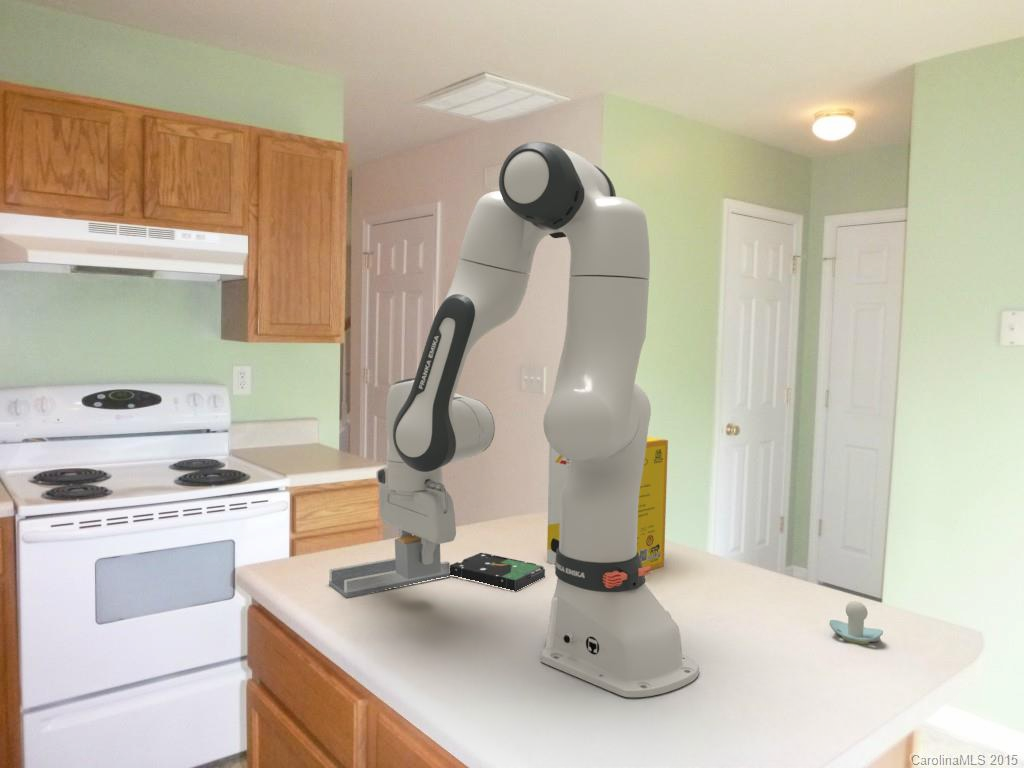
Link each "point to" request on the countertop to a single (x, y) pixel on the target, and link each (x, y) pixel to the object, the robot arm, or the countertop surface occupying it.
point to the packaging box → (648, 504)
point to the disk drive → (498, 571)
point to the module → (414, 558)
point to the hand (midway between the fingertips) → (417, 559)
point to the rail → (374, 577)
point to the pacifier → (856, 625)
